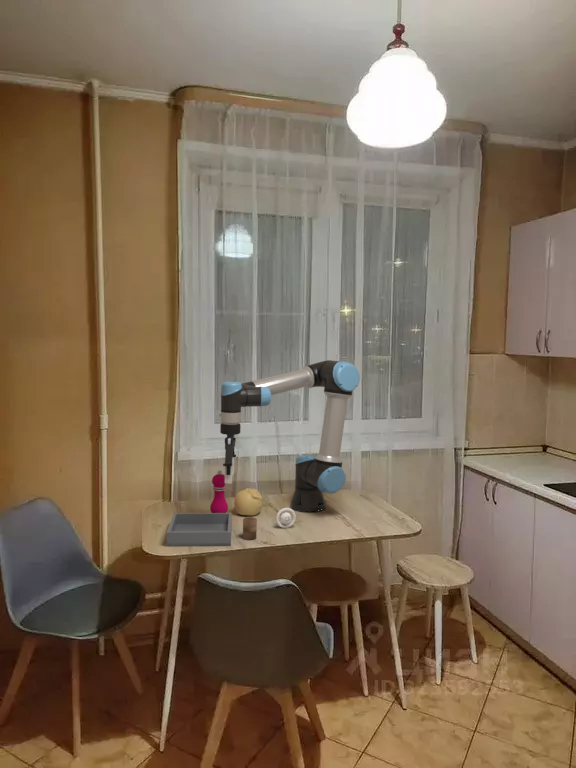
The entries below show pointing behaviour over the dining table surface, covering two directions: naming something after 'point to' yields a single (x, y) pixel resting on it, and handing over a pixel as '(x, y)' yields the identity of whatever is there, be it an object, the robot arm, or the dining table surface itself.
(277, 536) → the dining table surface
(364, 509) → the dining table surface
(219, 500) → the pepper mill
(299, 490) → the robot arm
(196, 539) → the tray
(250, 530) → the walnut cylinder
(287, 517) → the ring around a ball
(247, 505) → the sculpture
